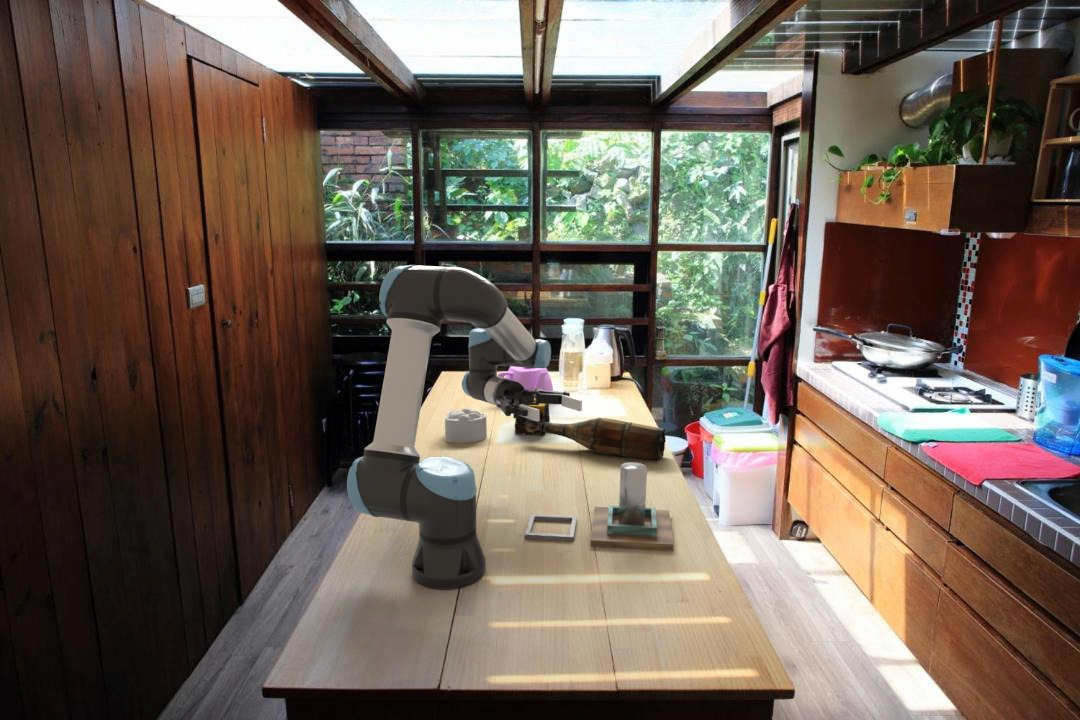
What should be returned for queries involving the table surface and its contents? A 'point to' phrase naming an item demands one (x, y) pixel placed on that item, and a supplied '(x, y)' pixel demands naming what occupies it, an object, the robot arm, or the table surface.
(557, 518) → the frame
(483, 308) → the robot arm
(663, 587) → the table surface
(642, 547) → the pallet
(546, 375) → the teapot
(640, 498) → the billet
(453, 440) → the lumpy-topped squat cylinder
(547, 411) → the candle
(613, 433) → the decorative bottle
